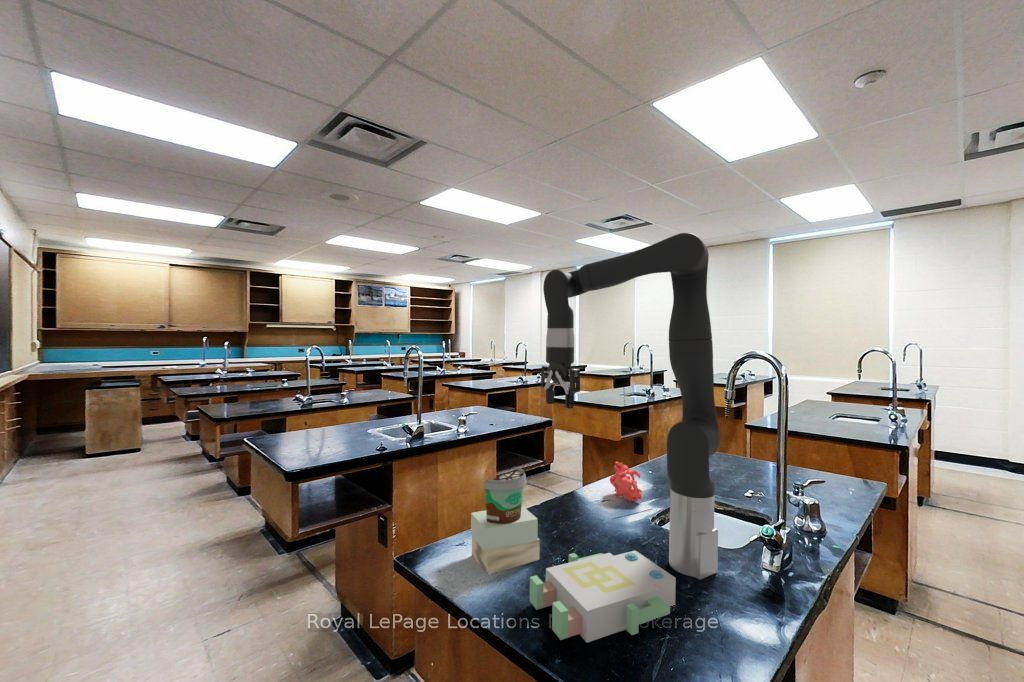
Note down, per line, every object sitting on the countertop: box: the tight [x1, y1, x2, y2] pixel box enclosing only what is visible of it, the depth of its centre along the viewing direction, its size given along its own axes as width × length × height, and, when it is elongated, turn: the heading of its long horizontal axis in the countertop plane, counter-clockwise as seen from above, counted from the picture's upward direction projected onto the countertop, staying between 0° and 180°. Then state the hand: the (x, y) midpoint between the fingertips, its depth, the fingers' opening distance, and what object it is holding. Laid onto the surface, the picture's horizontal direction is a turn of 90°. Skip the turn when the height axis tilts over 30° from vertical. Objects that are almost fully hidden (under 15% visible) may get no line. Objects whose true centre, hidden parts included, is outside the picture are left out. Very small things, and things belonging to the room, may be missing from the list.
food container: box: [483, 466, 528, 524], centre depth 97 cm, size 12×6×10 cm, turn 143°
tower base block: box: [471, 535, 540, 575], centre depth 98 cm, size 9×13×5 cm
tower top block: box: [470, 505, 539, 552], centre depth 98 cm, size 9×13×5 cm
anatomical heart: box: [609, 461, 643, 503], centre depth 136 cm, size 9×12×12 cm
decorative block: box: [529, 550, 677, 643], centre depth 81 cm, size 26×6×20 cm
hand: (559, 405), depth 113 cm, fingers open, 8 cm apart
